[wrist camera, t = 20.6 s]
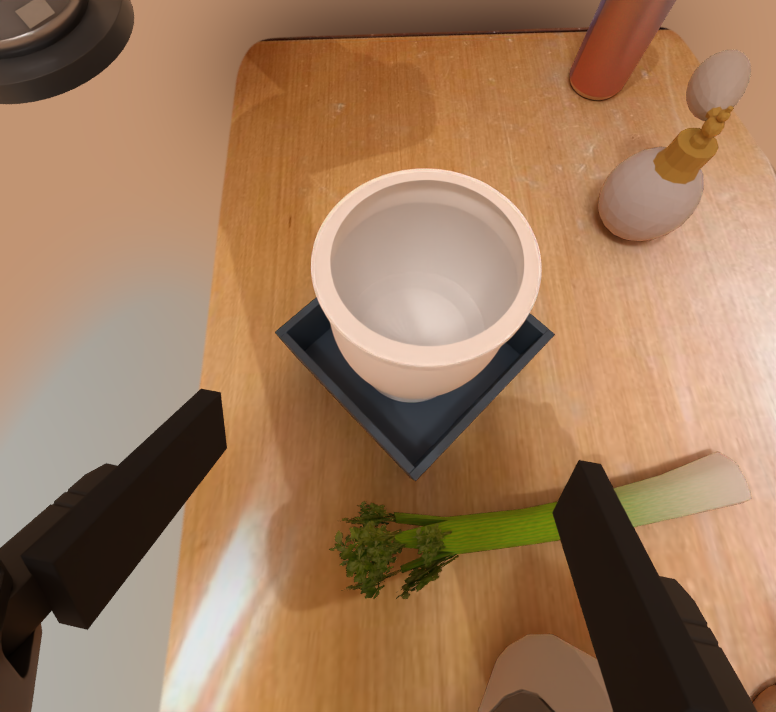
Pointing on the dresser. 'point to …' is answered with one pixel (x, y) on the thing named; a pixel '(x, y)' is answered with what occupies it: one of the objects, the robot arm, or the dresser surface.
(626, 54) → the beverage can
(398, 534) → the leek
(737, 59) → the perfume bottle
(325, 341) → the tray
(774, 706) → the candle holder
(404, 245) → the jar
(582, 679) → the alarm clock
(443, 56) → the dresser surface
